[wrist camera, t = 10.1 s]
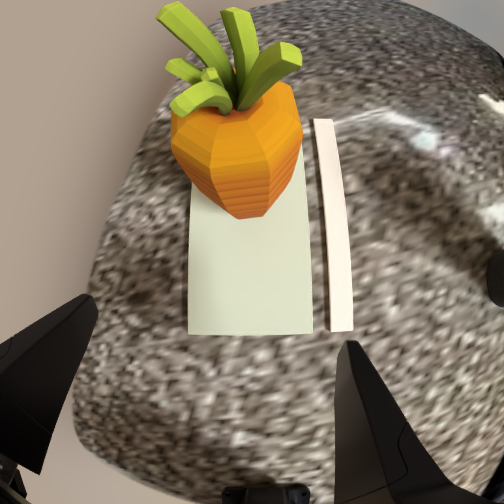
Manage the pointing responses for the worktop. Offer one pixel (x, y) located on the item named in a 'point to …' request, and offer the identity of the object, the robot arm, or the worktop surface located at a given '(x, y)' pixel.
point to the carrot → (234, 113)
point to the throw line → (335, 228)
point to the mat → (251, 266)
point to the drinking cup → (496, 278)
